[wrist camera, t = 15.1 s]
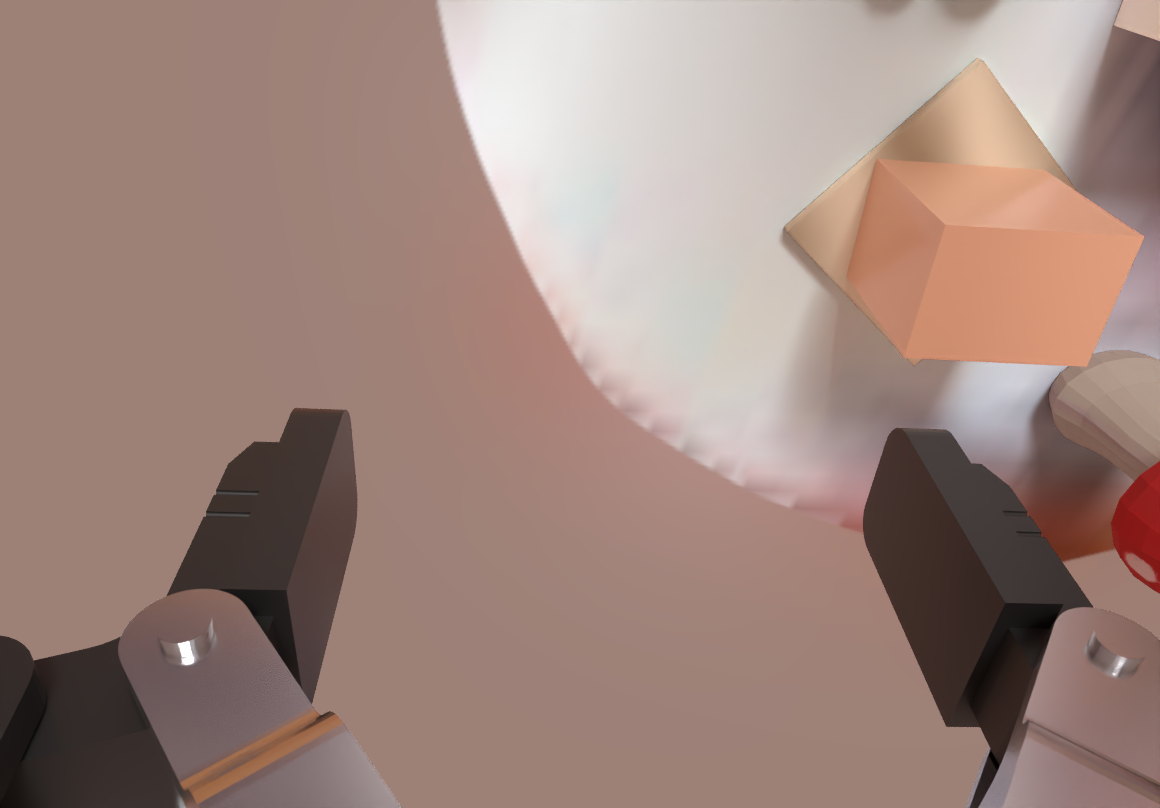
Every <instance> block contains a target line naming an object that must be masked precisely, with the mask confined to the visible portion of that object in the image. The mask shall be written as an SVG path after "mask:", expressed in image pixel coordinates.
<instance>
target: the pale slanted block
mask: <svg viewBox="0 0 1160 808" xmlns="http://www.w3.org/2000/svg"><path fill="white" fill-rule="evenodd" d="M1114 26H1117V27H1120V28H1123V29H1126V30H1129V31H1131V32H1134V33H1137V34H1140V35H1143V36H1146V37H1149V38H1152V39H1155V40H1158V41H1160V0H1123V2H1122V4H1121V7H1120V10H1119V12H1118V15H1117V18H1116V20H1115V23H1114Z"/></svg>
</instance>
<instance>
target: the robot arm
mask: <svg viewBox="0 0 1160 808" xmlns="http://www.w3.org/2000/svg"><path fill="white" fill-rule="evenodd" d="M356 519H357V487H356V475H355V464H354V452H353V441H352V429H351V420H350V415H349V412H348V411H347V410H335V409H334V410H333V409H307V408H295V409H293V411H292V412H291V414H290V417H289V420H288V422H287V424H286V427H285V429H284V432H283V434H282V437H281V439H280V442H279V443H278V442H253V443H252V444H251V445H250V446H249V447H247V448H246V449H245V450H244V451H243V452H242V453H241V454H239V455H238V456H237V457H236V458H235V459H234V460H232V461H231V462H230V463H229V464H228V466H227V468H226V470H225V473H224V475H223V477H222V479H221V481H220V483H219V485H218V488H217V489H216V495H214V496H213V498H212V500H211V502H210V504H209V507H208V509H207V511H206V517H203V520H202V522H201V524H200V526H199V528H198V530H197V532H196V534H195V537H194V539H193V541H192V543H191V545H190V548H189V549H188V551H187V554H186V556H185V558H184V560H183V562H182V564H181V566H180V568H179V571H178V573H177V575H176V577H175V579H174V581H173V584H172V586H171V588H170V590H169V592H168V594H167V596H166V597H163V598H162V599H159V600H157V601H155V602H154V603H152V604H150V605H149V606H147V607H146V608H144V609H143V610H142V611H140V612H139V613H138V614H137V615H136V616H135V617H134V618H133V619H132V620H131V621H130V622H129V624H128V625H127V627H126V628H125V629H124V631H123V633H122V636H121V637H119V638H117V639H115V640H112V641H110V642H107V643H104V644H102V645H99V646H95V647H91V648H87V649H83V650H79V651H74V652H70V653H65V654H61V655H57V656H53V657H48V658H43V659H39V660H35V661H33V658H32V656H31V654H30V651H29V650H28V649H27V648H26V647H25V646H24V645H23V644H22V643H20V642H19V641H17V640H15V639H12V638H9V637H5V636H0V808H402V807H401V805H400V804H399V802H398V801H397V799H396V798H395V796H394V795H393V793H392V792H391V790H390V789H389V788H388V786H387V785H386V783H385V782H384V780H383V779H382V777H381V776H380V774H379V773H378V771H377V770H376V769H375V767H374V766H373V764H372V763H371V761H370V760H369V758H368V757H367V755H366V754H365V753H364V751H363V750H362V748H361V747H360V745H359V744H358V742H357V741H356V740H355V738H354V736H353V735H352V734H351V732H350V731H349V729H348V728H347V726H346V725H345V724H344V722H343V721H342V720H341V719H340V718H339V717H338V716H337V715H336V714H335V713H333V712H330V711H329V712H327V713H325V714H323V715H320V714H319V713H318V712H317V711H316V710H315V708H314V707H313V706H312V702H313V698H314V694H315V690H316V686H317V682H318V678H319V674H320V669H321V665H322V661H323V658H324V654H325V650H326V646H327V642H328V638H329V634H330V630H331V626H332V622H333V618H334V614H335V610H336V606H337V602H338V598H339V594H340V590H341V586H342V582H343V578H344V574H345V570H346V566H347V562H348V558H349V554H350V550H351V546H352V542H353V538H354V534H355V527H356ZM863 531H864V538H865V543H866V546H867V549H868V551H869V553H870V556H871V558H872V560H873V562H874V564H875V567H876V569H877V571H878V573H879V576H880V578H881V580H882V582H883V585H884V587H885V589H886V592H887V594H888V596H889V598H890V601H891V603H892V605H893V607H894V610H895V612H896V614H897V616H898V619H899V621H900V623H901V625H902V628H903V630H904V632H905V634H906V637H907V639H908V641H909V643H910V646H911V648H912V650H913V652H914V655H915V657H916V659H917V662H918V664H919V666H920V668H921V671H922V673H923V675H924V677H925V680H926V682H927V684H928V686H929V688H930V691H931V693H932V695H933V697H934V700H935V702H936V704H937V706H938V709H939V711H940V713H941V716H942V718H943V720H944V722H945V725H946V726H947V727H980V728H981V730H982V732H983V734H984V736H985V738H986V740H987V742H988V744H989V748H988V750H987V752H986V754H985V756H984V758H983V760H982V763H981V766H980V768H979V771H978V774H977V777H976V780H975V782H974V785H973V788H972V791H971V793H970V796H969V799H968V802H967V804H966V807H965V808H1160V640H1159V639H1158V638H1157V637H1156V636H1155V635H1154V634H1152V633H1151V632H1150V631H1148V630H1147V629H1146V628H1144V627H1143V626H1141V625H1139V624H1137V623H1136V622H1134V621H1132V620H1130V619H1128V618H1126V617H1124V616H1122V615H1119V614H1116V613H1114V612H1111V611H1107V610H1103V609H1098V608H1093V606H1092V604H1091V603H1090V602H1089V600H1088V599H1087V597H1086V596H1085V594H1084V593H1083V591H1082V590H1081V589H1080V587H1079V586H1078V584H1077V583H1076V581H1075V580H1074V579H1073V577H1072V576H1071V574H1070V573H1069V571H1068V570H1067V568H1066V567H1065V566H1064V564H1063V563H1062V561H1061V560H1060V558H1059V557H1058V555H1057V554H1056V552H1055V551H1054V550H1053V548H1052V547H1051V545H1050V544H1049V542H1048V541H1047V540H1046V538H1045V537H1041V531H1040V529H1039V528H1038V527H1037V525H1036V524H1035V522H1034V521H1033V519H1032V518H1031V516H1027V511H1026V509H1025V508H1024V506H1023V505H1022V503H1021V502H1020V501H1019V499H1018V498H1017V496H1016V495H1015V493H1014V492H1013V490H1012V489H1011V488H1010V486H1009V485H1007V484H1006V483H1005V482H1003V481H1002V480H1001V479H1000V478H998V477H997V476H996V475H995V474H993V473H992V472H991V471H989V470H988V469H987V468H986V467H984V466H983V465H982V464H971V462H970V461H969V459H968V458H967V456H966V455H965V453H964V452H963V450H962V449H961V447H960V446H959V444H958V443H957V441H956V440H955V438H954V437H953V435H952V434H951V433H950V432H949V431H947V430H938V429H910V428H896V429H894V430H893V431H892V432H891V433H890V434H889V436H888V438H887V441H886V443H885V446H884V450H883V453H882V456H881V459H880V462H879V465H878V468H877V471H876V474H875V477H874V480H873V483H872V486H871V490H870V493H869V496H868V499H867V502H866V505H865V509H864V516H863Z"/></svg>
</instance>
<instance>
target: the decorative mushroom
mask: <svg viewBox="0 0 1160 808" xmlns="http://www.w3.org/2000/svg"><path fill="white" fill-rule="evenodd" d="M1049 402H1050V407H1051V411H1052V415H1053V419H1054V423H1055V426H1056V427H1057V429H1058V430H1059V431H1060V432H1061V433H1062V435H1063V436H1064V437H1065V438H1067V439H1069V440H1071V441H1073V442H1075V443H1076V444H1078V445H1081V446H1083V447H1085V448H1088V449H1090V450H1093V451H1095V452H1097V453H1098V454H1100V455H1101V456H1103V457H1104V458H1106V459H1107V460H1109V461H1110V462H1111V463H1113V464H1114V465H1115V466H1117V467H1118V468H1119V469H1121V470H1122V471H1123V472H1124V473H1126V474H1127V475H1128V476H1129V477H1131V478H1132V479H1133V480H1134V483H1133V484H1132V485H1131V486H1130V487H1129V489H1128V490H1127V491H1126V492H1125V493H1124V495H1123V496H1122V497H1121V498H1120V500H1119V503H1118V505H1117V508H1116V511H1115V514H1114V516H1113V519H1112V522H1111V526H1112V534H1113V542H1114V546H1115V548H1116V550H1117V552H1118V554H1119V556H1120V558H1121V559H1122V560H1123V562H1124V563H1125V565H1126V566H1127V567H1128V569H1129V570H1130V572H1131V573H1132V574H1133V576H1134V577H1136V578H1137V579H1139V580H1140V581H1142V582H1143V583H1144V584H1146V585H1147V586H1149V587H1150V588H1151V589H1153V590H1154V591H1156V592H1158V593H1160V360H1158V359H1156V358H1153V357H1150V356H1147V355H1145V354H1140V353H1136V352H1132V351H1106V352H1101V353H1097V354H1092V356H1091V358H1090V361H1089V363H1088V365H1087V367H1082V366H1069V367H1067V368H1066V369H1065V370H1063V371H1062V372H1061V373H1060V374H1059V375H1058V377H1057V378H1056V380H1055V381H1054V382H1053V384H1052V385H1051V389H1050V393H1049Z"/></svg>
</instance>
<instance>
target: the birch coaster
mask: <svg viewBox="0 0 1160 808" xmlns="http://www.w3.org/2000/svg"><path fill="white" fill-rule="evenodd" d="M877 159H888V160H903V161H919V162H934V163H949V164H964V165H980V166H995V167H1010V168H1025V169H1040V170H1045V171H1047V172H1048V173H1050V174H1051V175H1053V176H1054V177H1056V178H1057V179H1059V180H1060V181H1062V182H1063V183H1065V184H1066V185H1068V186H1069V187H1071V188H1072V189H1074V190H1075V191H1077V190H1076V189H1075V188H1074V186H1073V185H1072V183H1071V182H1070V181H1069V179H1068V178H1067V177H1066V175H1065V174H1064V172H1063V171H1062V170H1061V168H1060V167H1059V165H1058V164H1057V163H1056V161H1055V160H1054V158H1053V157H1052V156H1051V154H1050V153H1049V152H1048V150H1047V149H1046V147H1045V146H1044V145H1043V143H1042V142H1041V140H1040V139H1039V138H1038V136H1037V135H1036V133H1035V132H1034V131H1033V129H1032V128H1031V127H1030V125H1029V124H1028V122H1027V121H1026V120H1025V118H1024V117H1023V115H1022V114H1021V113H1020V111H1019V110H1018V108H1017V107H1016V106H1015V104H1014V103H1013V102H1012V100H1011V99H1010V97H1009V96H1008V95H1007V93H1006V92H1005V90H1004V89H1003V88H1002V86H1001V85H1000V84H999V82H998V81H997V79H996V78H995V77H994V75H993V74H992V72H991V71H990V70H989V68H988V67H987V65H986V64H985V63H984V61H982V60H980V59H978V58H977V59H976V60H975V61H973V62H972V63H971V64H970V65H969V66H968V67H967V68H965V69H964V70H963V71H962V72H961V73H960V74H959V75H957V76H956V77H955V78H954V79H953V80H952V81H951V82H949V83H948V84H947V85H946V86H945V87H944V88H943V89H941V90H940V91H939V92H938V93H937V94H936V95H934V96H933V97H932V98H931V99H930V100H929V101H928V102H926V103H925V104H924V105H923V106H922V107H921V108H920V109H918V110H917V111H916V112H915V113H914V114H913V115H912V116H910V117H909V118H908V119H907V120H906V121H905V122H904V123H902V124H901V125H900V126H899V127H898V128H897V129H896V130H894V131H893V132H892V133H891V134H890V135H889V136H888V137H886V138H885V139H884V140H883V141H882V142H881V143H880V144H878V145H877V146H876V147H875V148H874V149H873V150H872V151H870V152H869V153H868V154H867V155H866V156H865V157H864V158H862V159H861V160H860V161H859V162H858V163H857V164H855V165H854V166H853V167H852V168H851V169H850V170H849V171H847V172H846V173H845V174H844V175H843V176H842V177H841V178H839V179H838V180H837V181H836V182H835V183H834V184H833V185H831V186H830V187H829V188H828V189H827V190H826V191H825V192H823V193H822V194H821V195H820V196H819V197H818V198H817V199H815V200H814V201H813V202H812V203H811V204H810V205H809V206H807V207H806V208H805V209H804V210H803V211H802V212H801V213H799V214H798V215H797V216H796V217H795V218H794V219H793V220H791V221H790V222H789V223H788V224H787V225H786V226H785V227H784V228H785V229H786V231H787V232H788V233H789V234H790V236H791V237H792V238H793V239H794V240H795V241H796V242H797V243H798V244H799V245H800V246H801V247H802V248H803V249H804V250H805V251H806V252H807V254H808V255H809V256H810V257H811V258H812V259H813V260H814V261H815V262H816V263H817V264H818V265H819V266H820V267H821V268H822V269H823V270H824V272H825V273H826V274H827V275H828V276H829V277H830V278H831V279H832V280H833V281H834V282H835V283H836V284H837V285H838V286H839V287H840V289H841V290H842V291H843V292H844V293H845V294H846V295H847V296H848V297H849V298H850V299H851V300H852V301H853V302H854V303H855V304H856V305H857V307H858V308H859V309H860V310H861V311H862V312H863V313H864V314H865V315H866V316H867V317H868V318H869V319H870V320H871V321H872V322H873V323H874V325H875V326H876V327H877V328H878V329H879V330H880V331H881V332H882V333H883V334H884V335H885V336H886V337H887V338H888V339H889V340H890V341H891V339H890V338H889V336H888V335H887V333H886V332H885V331H884V329H883V328H882V326H881V325H880V323H879V322H878V321H877V319H876V318H875V316H874V315H873V313H872V312H871V311H870V309H869V308H868V306H867V305H866V303H865V302H864V300H863V299H862V298H861V296H860V295H859V293H858V292H857V290H856V289H855V288H854V286H853V285H852V283H851V282H850V280H849V279H848V278H847V276H846V275H847V271H848V268H849V264H850V260H851V256H852V252H853V248H854V245H855V241H856V237H857V233H858V229H859V225H860V221H861V218H862V214H863V210H864V206H865V202H866V198H867V195H868V191H869V187H870V183H871V179H872V175H873V171H874V168H875V164H876V160H877ZM891 343H892V344H893V345H894V343H893V342H892V341H891ZM894 346H895V345H894ZM895 347H896V346H895ZM907 359H908V361H909V362H910V363H911V364H912V365H913V366H915V365H916V364H917V363H919V362H920V361H921V360H923V359H915V358H907Z"/></svg>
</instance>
